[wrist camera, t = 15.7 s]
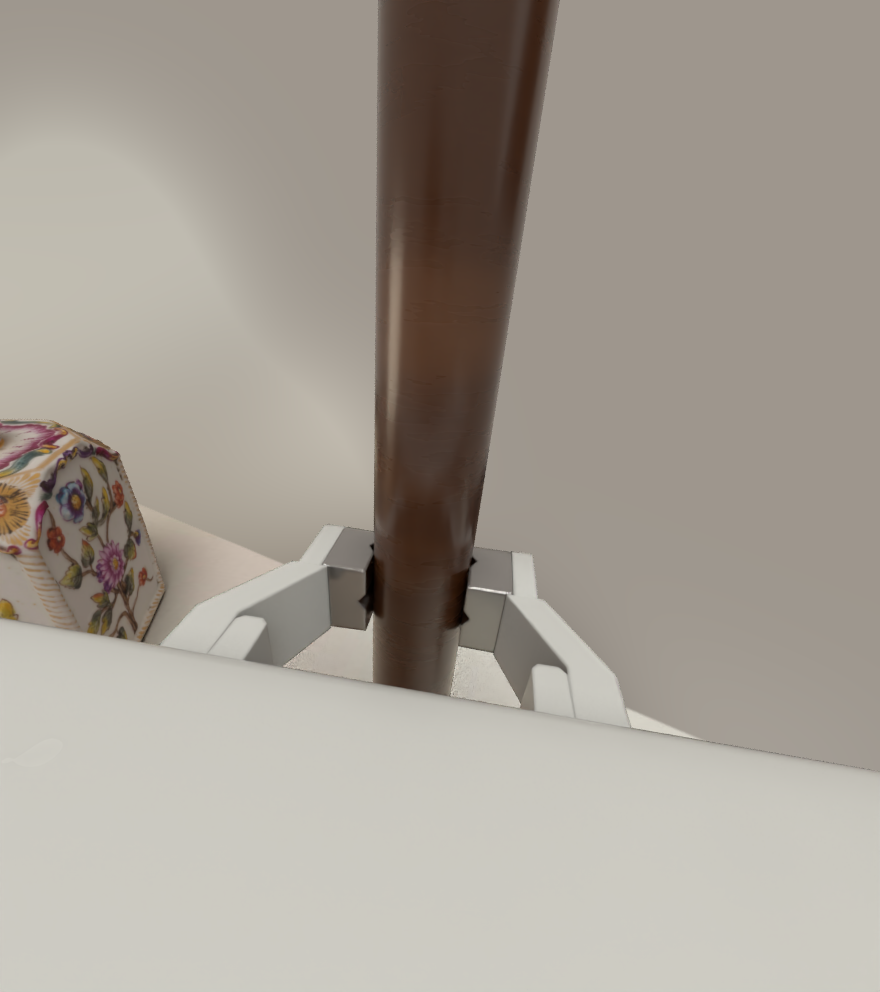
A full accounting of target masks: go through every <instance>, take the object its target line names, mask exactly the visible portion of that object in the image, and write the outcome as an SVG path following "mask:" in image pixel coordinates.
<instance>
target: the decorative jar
mask: <svg viewBox="0 0 880 992" xmlns="http://www.w3.org/2000/svg"><path fill="white" fill-rule="evenodd" d="M164 591H165V586H164V583H163V580H162V577H161V574H160V570H159V567H158V564H157V560H156V557H155V554H154V551H153V547H152V544H151V541H150V538H149V535H148V533H147V530H146V526H145V523H144V521H143V517H142V515H141V512H140V510H139V508H138V504H137V501H136V498H135V496H134V493H133V491H132V488H131V485H130V482H129V480H128V477H127V475H126V472H125V470H124V467H123V465H122V461H121V460H120V454H119V453H118V452H117V451H114V450H112V449H111V448H110V447H108V446H106V445H104V444H103V443H102V442H101V441H99V440H95V439H93V438H91V437H90V436H87V435H85V434H83V433H79V432H76V431H74V430H72V429H70V428H68V427H65V426H63V425H61V424H59V423H57V422H54V421H51V420H40V419H39V420H38V419H2V420H0V618H6V619H12V620H17V621H23V622H29V623H35V624H40V625H46V626H52V627H58V628H63V629H69V630H75V631H80V632H86V633H92V634H98V635H103V636H109V637H115V638H120V639H126V640H132V641H138V642H141V640H142V638H143V636H144V634H145V632H146V630H147V628H148V626H149V624H150V623H151V620H152V618H153V616H154V613H155V611H156V609H157V607H158V604H159V602H160V600H161V597H162V595H163V593H164Z"/></svg>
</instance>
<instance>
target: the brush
mask: <svg viewBox="0 0 880 992" xmlns="http://www.w3.org/2000/svg"><path fill="white" fill-rule="evenodd" d="M559 1H560V0H378V92H377V97H378V98H377V99H378V100H377V215H376V217H377V220H376V221H377V222H376V340H375V342H376V343H375V344H376V345H375V349H376V351H375V463H374V587H373V683H378V684H384V685H389V686H395V687H401V688H406V689H412V690H418V691H423V692H429V693H435V694H440V695H446V696H450V694H451V688H452V681H453V675H454V668H455V662H456V656H457V649H458V643H459V633H460V624H461V617H462V610H463V604H464V600H465V590H466V584H467V578H468V572H469V567H470V566H471V560H472V554H473V548H474V540H475V534H476V529H477V522H478V515H479V509H480V503H481V496H482V490H483V484H484V478H485V471H486V465H487V459H488V452H489V446H490V439H491V433H492V427H493V420H494V414H495V408H496V401H497V394H498V388H499V382H500V376H501V369H502V363H503V357H504V350H505V344H506V338H507V331H508V325H509V318H510V312H511V306H512V299H513V293H514V287H515V280H516V274H517V268H518V261H519V255H520V249H521V242H522V236H523V230H524V223H525V217H526V211H527V204H528V198H529V191H530V185H531V178H532V172H533V166H534V159H535V153H536V147H537V141H538V134H539V128H540V121H541V115H542V109H543V102H544V96H545V89H546V83H547V77H548V71H549V64H550V58H551V52H552V45H553V39H554V32H555V26H556V20H557V13H558V7H559Z"/></svg>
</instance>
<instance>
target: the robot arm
mask: <svg viewBox="0 0 880 992" xmlns="http://www.w3.org/2000/svg"><path fill="white" fill-rule="evenodd" d="M373 587H374V531H368V530H362V529H356V528H350V527H344V526H338V525H331V524H327V525H325V526H323V527H322V529H321V530H320V532H319V533H318V535H317V536H316V537H315V539H314V540H313V541H312V543H311V544H310V546H309V547H308V549H307V550H306V551H305V553H304V554H303V556H302V557H301V559H300V560H299V561H298V562H297V561H291V562H289V563H287V564H284V565H282V566H280V567H278V568H276V569H274V570H271V571H269V572H267V573H265V574H263V575H260V576H258V577H256V578H254V579H252V580H249V581H247V582H245V583H243V584H241V585H238V586H236V587H234V588H232V589H230V590H228V591H225V592H223V593H221V594H219V595H217V596H214V597H212V598H210V599H208V600H206V601H203V602H201V603H199V604H197V605H195V606H194V608H193V609H192V610H191V611H190V612H189V613H188V614H187V615H186V616H185V617H184V618H183V619H182V621H181V622H180V623H179V624H178V625H177V626H176V627H175V628H174V629H173V630H172V631H171V632H170V634H169V635H168V636H167V637H166V638H165V639H164V640H163V641H162V642H161V643H160V644H159V645H155V644H149V643H143V642H138V641H132V640H126V639H120V638H115V637H109V636H103V635H98V634H92V633H86V632H80V631H75V630H69V629H63V628H58V627H52V626H46V625H40V624H35V623H29V622H23V621H17V620H12V619H6V618H0V992H880V771H875V770H870V769H864V768H857V767H852V766H847V765H841V764H835V763H829V762H824V761H818V760H811V759H806V758H801V757H795V756H789V755H784V754H778V753H772V752H766V751H760V750H754V749H749V748H743V747H738V746H732V745H726V744H720V743H715V742H709V741H703V740H698V739H692V738H686V737H680V736H675V735H669V734H663V733H658V732H652V731H646V730H640V729H635V728H631V725H630V721H629V718H628V714H627V711H626V707H625V704H624V701H623V697H622V694H621V690H620V687H619V683H618V680H617V676H616V675H615V674H614V673H613V672H612V670H610V669H609V667H608V666H607V665H606V664H605V663H604V662H603V661H602V660H601V659H600V658H599V657H598V656H597V655H596V654H595V653H594V652H593V651H592V649H591V648H589V646H588V645H587V644H586V643H585V642H584V641H583V640H582V639H581V638H580V637H579V636H578V635H577V634H576V633H575V632H574V631H573V630H572V629H571V628H570V626H569V625H568V624H567V623H566V622H565V621H564V620H563V619H562V618H561V617H560V616H559V615H558V614H557V613H556V612H555V611H554V610H553V609H552V607H550V605H549V604H548V603H547V602H546V601H545V600H542V599H538V593H537V585H536V576H535V568H534V561H533V556H532V554H529V553H519V552H512V551H511V552H508V551H500V550H493V549H485V548H479V547H474V548H473V554H472V560H471V566H470V567H469V572H468V578H467V584H466V590H465V600H464V604H463V610H462V617H461V624H460V633H459V643H458V646H460V647H465V648H471V649H476V650H481V651H486V652H491V653H494V654H493V655H494V657H495V658H496V660H497V662H498V664H499V665H500V667H501V669H502V671H503V673H504V674H505V676H506V678H507V680H508V681H509V683H510V685H511V687H512V689H513V690H514V692H515V694H516V696H517V697H518V699H519V701H520V703H521V706H520V708H515V707H509V706H503V705H498V704H492V703H486V702H480V701H475V700H469V699H463V698H458V697H452V696H446V695H440V694H435V693H429V692H423V691H418V690H412V689H406V688H401V687H395V686H389V685H384V684H378V683H372V682H366V681H361V680H355V679H349V678H344V677H338V676H332V675H327V674H321V673H315V672H309V671H303V670H298V669H292V668H286V667H282V666H283V665H284V664H286V663H287V662H288V661H289V660H291V659H292V658H293V657H295V656H296V655H297V654H298V653H300V652H301V651H302V650H303V649H305V648H306V647H307V646H309V645H310V644H311V643H312V642H314V641H315V640H316V639H317V638H319V637H320V636H321V635H322V634H324V633H325V632H326V631H328V630H329V629H330V628H331V626H335V627H342V628H349V629H357V630H364V631H366V629H367V626H368V623H369V621H370V618H371V615H372V613H373Z"/></svg>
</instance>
